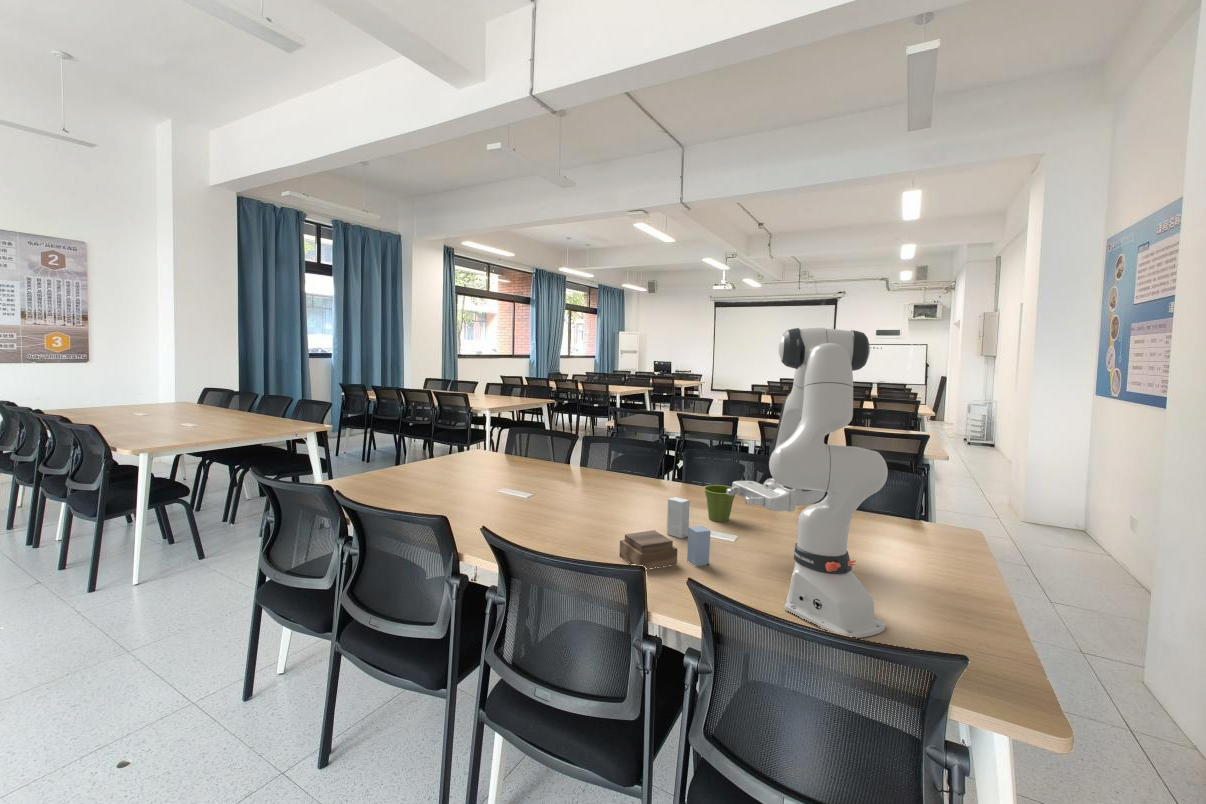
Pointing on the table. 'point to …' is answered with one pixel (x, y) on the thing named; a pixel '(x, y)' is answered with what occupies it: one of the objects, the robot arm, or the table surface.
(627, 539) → the walnut block
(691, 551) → the slate block
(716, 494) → the plant pot
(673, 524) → the skincare box
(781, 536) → the table surface
